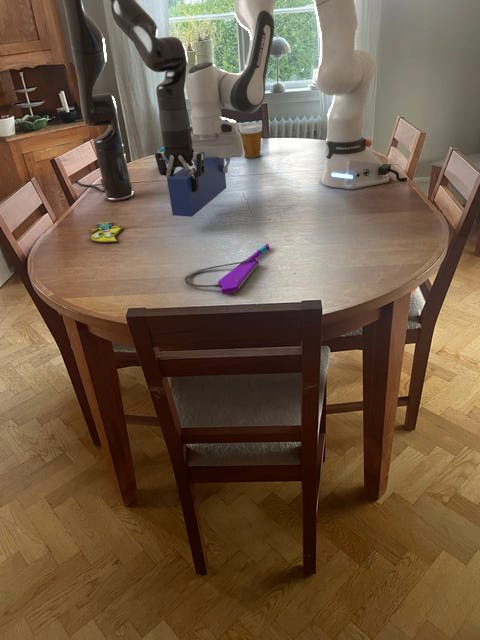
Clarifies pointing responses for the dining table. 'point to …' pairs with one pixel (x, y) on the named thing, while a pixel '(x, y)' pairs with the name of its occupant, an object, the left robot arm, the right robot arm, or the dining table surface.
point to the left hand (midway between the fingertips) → (184, 190)
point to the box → (209, 188)
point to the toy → (105, 233)
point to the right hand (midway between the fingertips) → (212, 173)
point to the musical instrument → (234, 273)
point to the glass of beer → (251, 139)
